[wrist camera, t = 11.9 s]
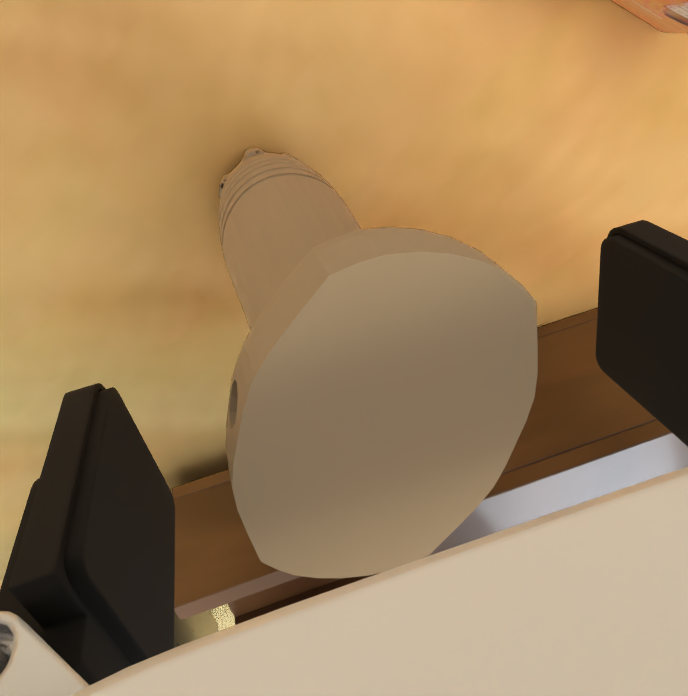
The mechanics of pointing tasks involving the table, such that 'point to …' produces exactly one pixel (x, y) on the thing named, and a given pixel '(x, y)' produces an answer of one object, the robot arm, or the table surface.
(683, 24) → the small box
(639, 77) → the table surface
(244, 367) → the handle
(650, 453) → the cabinet
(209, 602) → the drawer
